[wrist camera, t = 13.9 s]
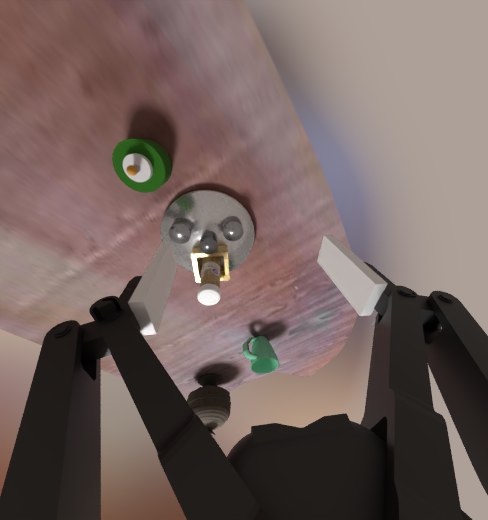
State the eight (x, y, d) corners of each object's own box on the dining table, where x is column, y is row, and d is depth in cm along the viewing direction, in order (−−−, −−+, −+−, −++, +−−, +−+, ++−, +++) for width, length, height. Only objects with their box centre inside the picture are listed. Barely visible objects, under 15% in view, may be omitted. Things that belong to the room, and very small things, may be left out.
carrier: (172, 274, 51) (168, 287, 47) (151, 190, 39) (142, 197, 35) (252, 269, 53) (255, 281, 49) (255, 188, 41) (259, 194, 37)
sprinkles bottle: (222, 256, 48) (223, 293, 37) (216, 270, 50) (215, 308, 39) (205, 251, 47) (201, 287, 36) (199, 265, 49) (194, 303, 38)
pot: (178, 383, 82) (172, 444, 65) (209, 362, 79) (211, 421, 62) (206, 393, 91) (208, 449, 75) (235, 376, 88) (243, 430, 71)
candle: (144, 127, 34) (119, 124, 25) (180, 166, 38) (169, 175, 29) (117, 160, 36) (86, 167, 28) (154, 194, 40) (136, 209, 32)
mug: (277, 338, 73) (285, 364, 65) (259, 350, 76) (263, 376, 68) (251, 322, 66) (256, 349, 58) (232, 336, 69) (234, 364, 61)
